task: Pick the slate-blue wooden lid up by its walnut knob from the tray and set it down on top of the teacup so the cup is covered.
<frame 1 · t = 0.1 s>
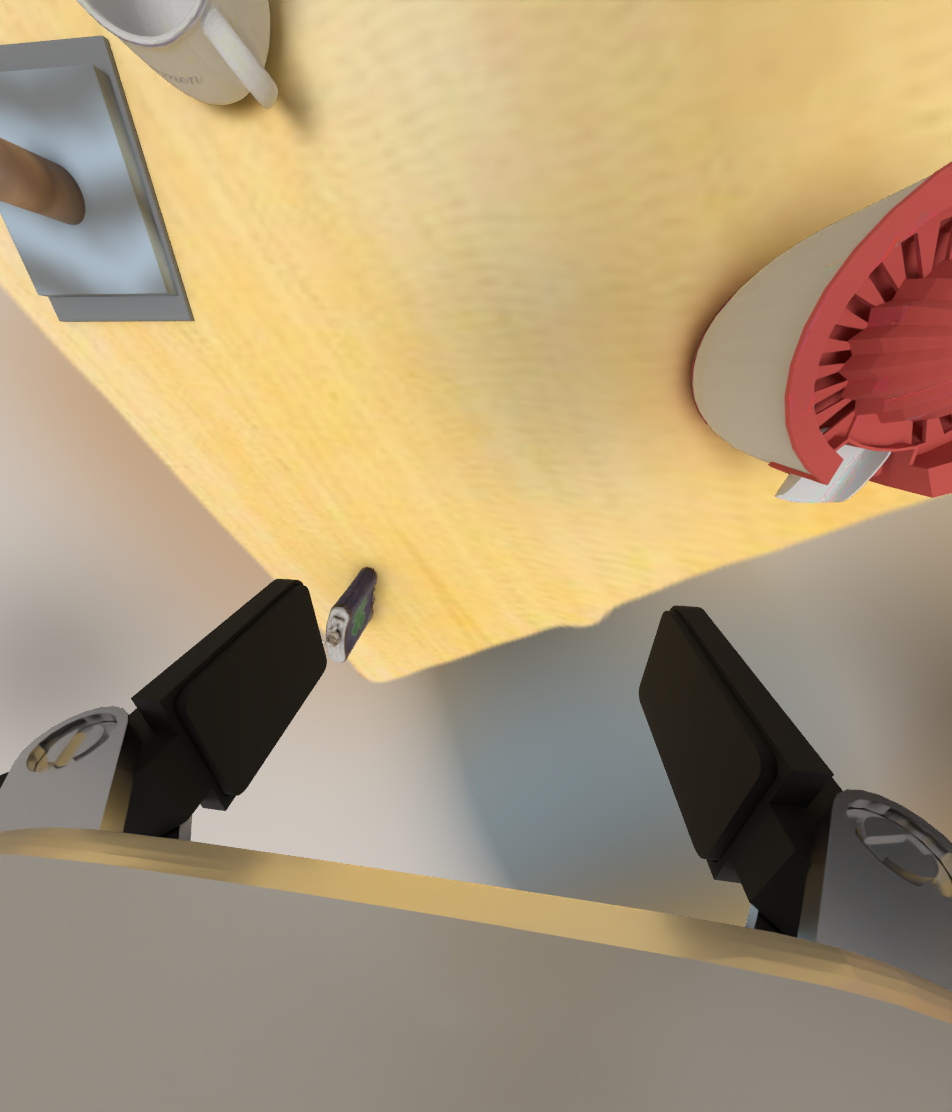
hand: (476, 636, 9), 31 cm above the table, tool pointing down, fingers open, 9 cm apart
citrus juicer: (753, 370, 32), on the table
lid: (77, 200, 31), resting on tray
flask: (366, 593, 49), on the table
tray: (82, 202, 31), on the table
teacup: (240, 52, 26), on the table
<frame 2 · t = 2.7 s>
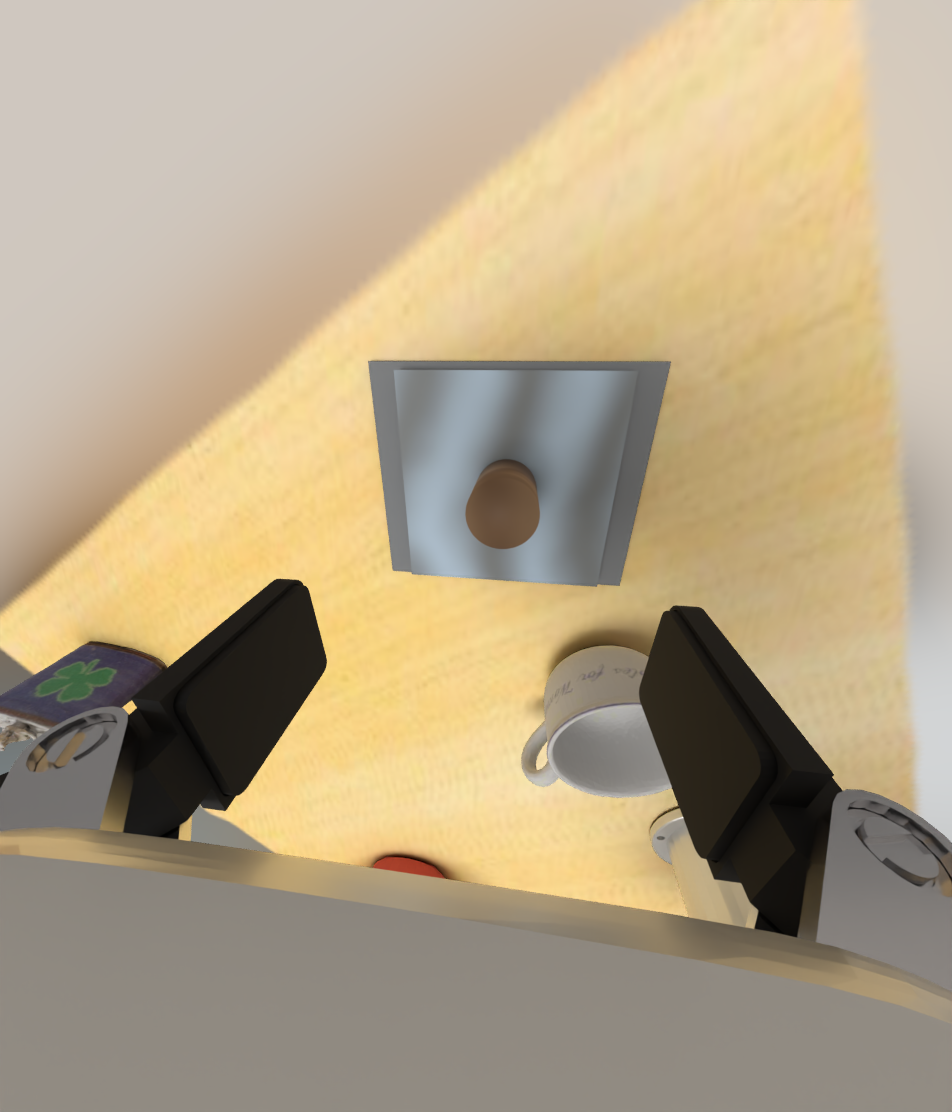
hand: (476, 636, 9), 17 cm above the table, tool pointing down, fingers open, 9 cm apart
citrus juicer: (405, 870, 54), on the table
lid: (506, 485, 24), resting on tray
flask: (129, 655, 38), on the table
tray: (507, 483, 24), on the table
teacup: (584, 677, 32), on the table
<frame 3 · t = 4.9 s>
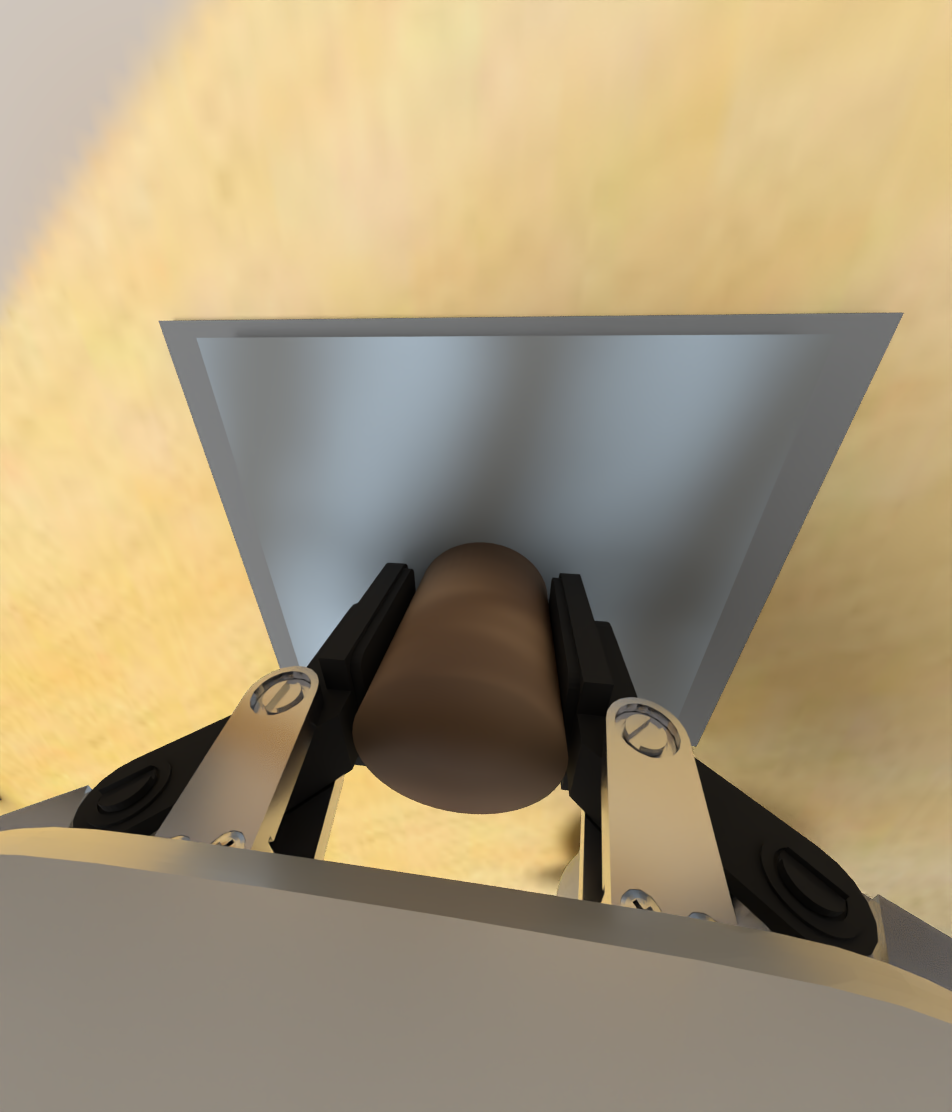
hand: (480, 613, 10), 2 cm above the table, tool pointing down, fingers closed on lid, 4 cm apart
lid: (486, 580, 12), resting on tray, touching gripper
tray: (487, 574, 12), on the table
teacup: (618, 847, 20), on the table
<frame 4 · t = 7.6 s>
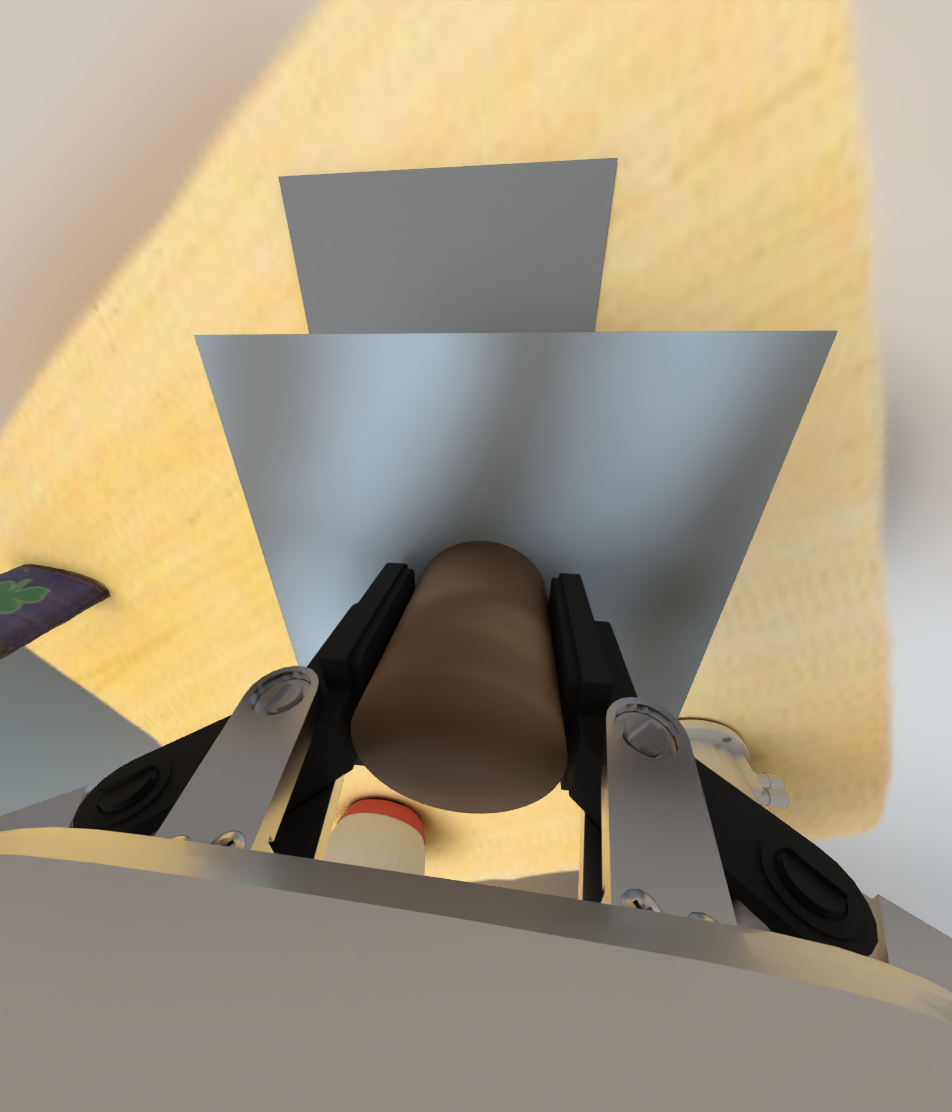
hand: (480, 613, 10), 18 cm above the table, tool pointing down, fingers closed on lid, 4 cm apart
citrus juicer: (381, 814, 53), on the table
lid: (485, 578, 12), point 16 cm above the table, touching gripper
flask: (68, 579, 36), on the table
tray: (447, 337, 22), on the table
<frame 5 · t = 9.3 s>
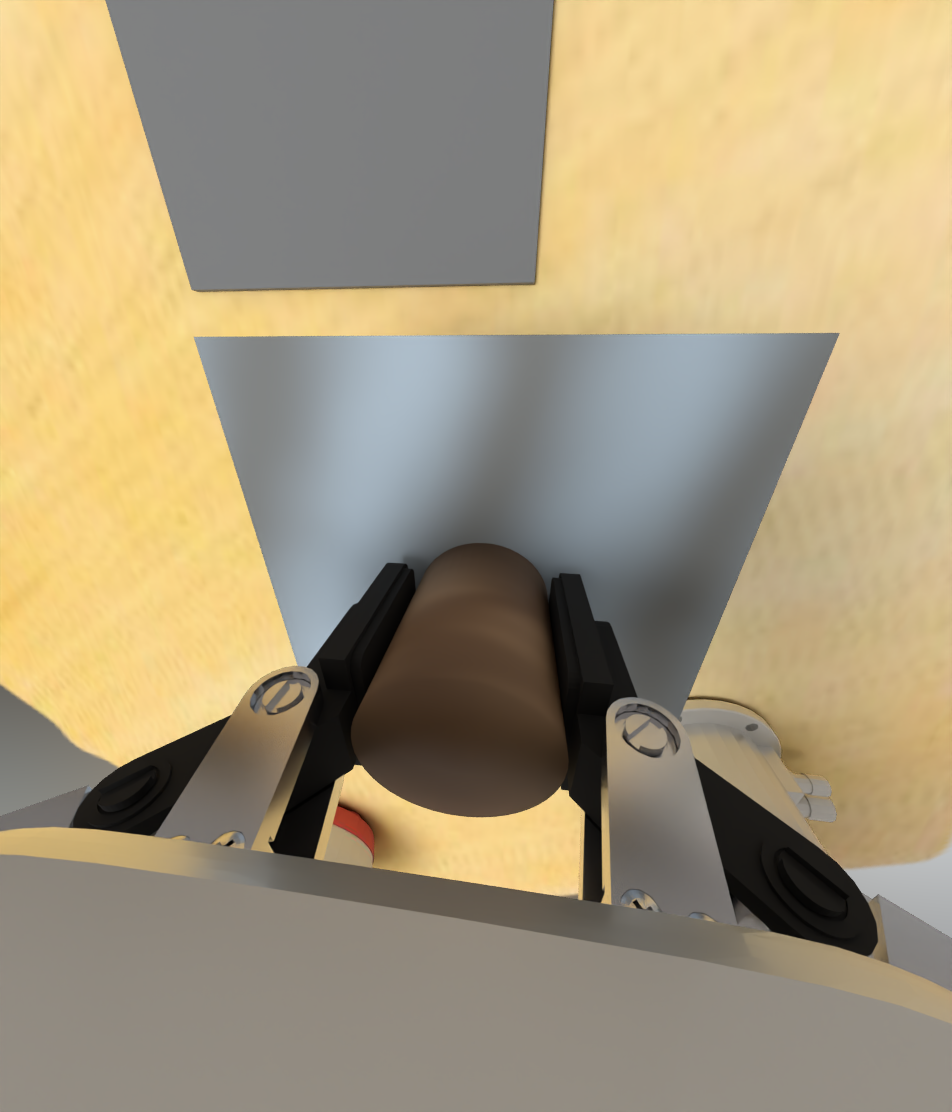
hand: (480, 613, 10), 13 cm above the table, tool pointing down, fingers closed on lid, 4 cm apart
citrus juicer: (325, 820, 44), on the table
lid: (485, 580, 12), point 11 cm above the table, touching gripper
tray: (330, 62, 14), on the table
when the fingers open (11 cm above the table, at t = 10.3 s): lid drops 2 cm, resting on teacup.
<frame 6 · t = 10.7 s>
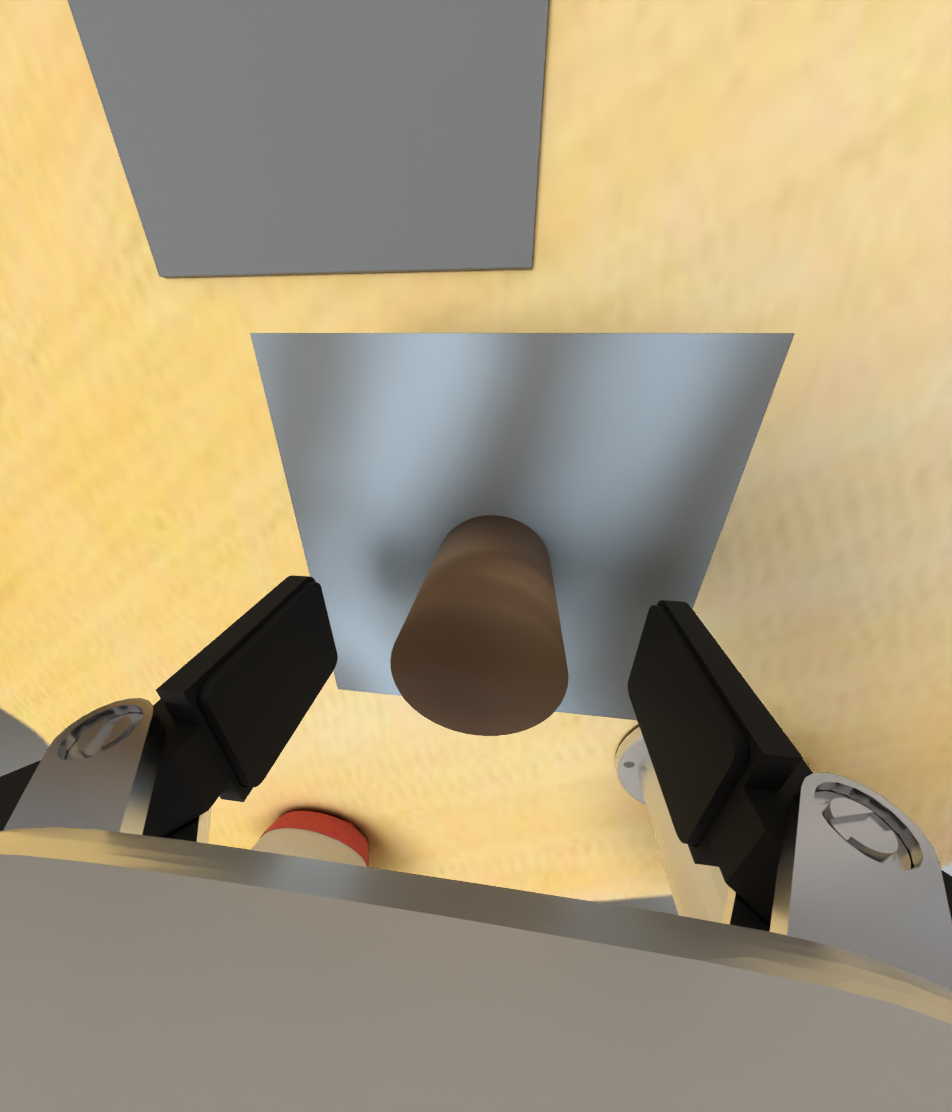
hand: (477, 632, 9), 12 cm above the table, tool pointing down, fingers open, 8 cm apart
citrus juicer: (318, 829, 43), on the table
lid: (494, 553, 13), point 8 cm above the table, touching teacup
tray: (303, 18, 13), on the table
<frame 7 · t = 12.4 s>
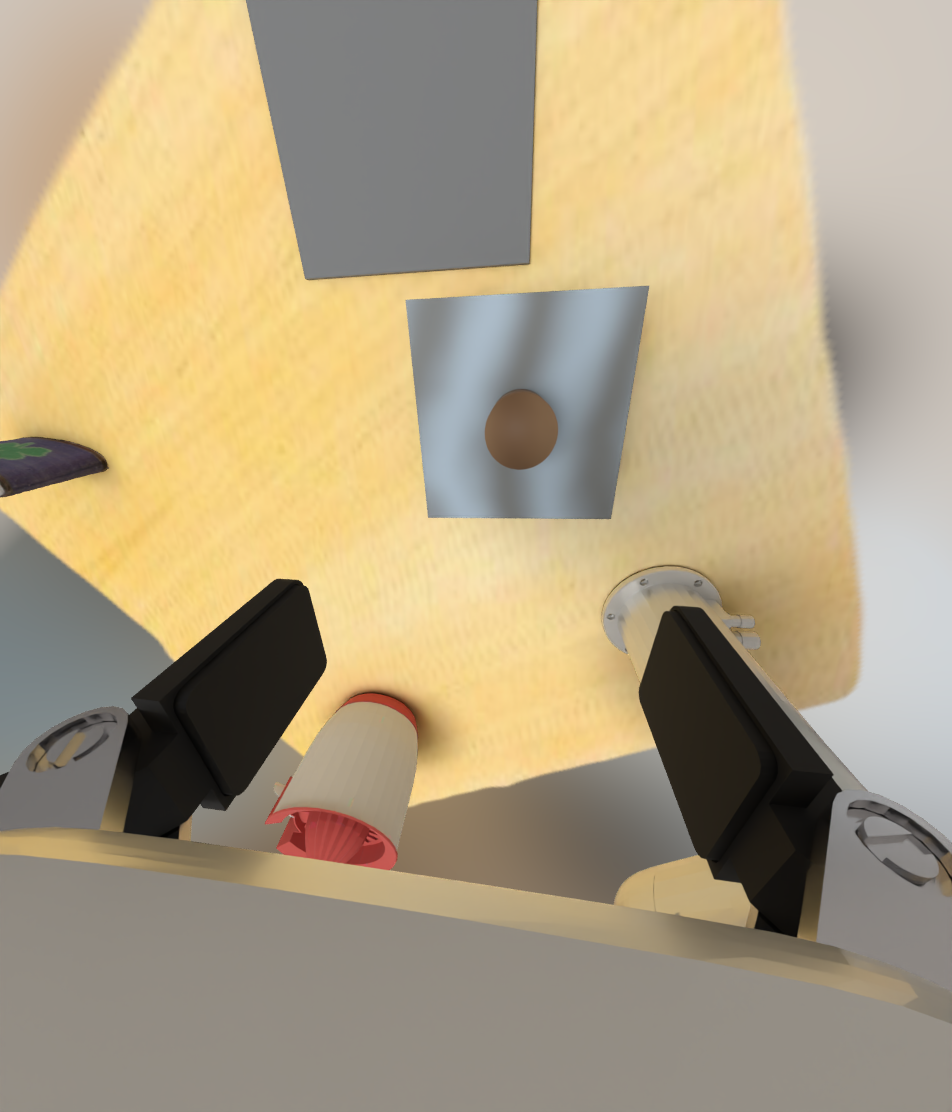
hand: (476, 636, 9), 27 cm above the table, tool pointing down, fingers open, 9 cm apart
citrus juicer: (375, 714, 54), on the table
lid: (519, 419, 24), point 8 cm above the table, touching teacup
flask: (69, 453, 38), on the table
tray: (401, 134, 24), on the table
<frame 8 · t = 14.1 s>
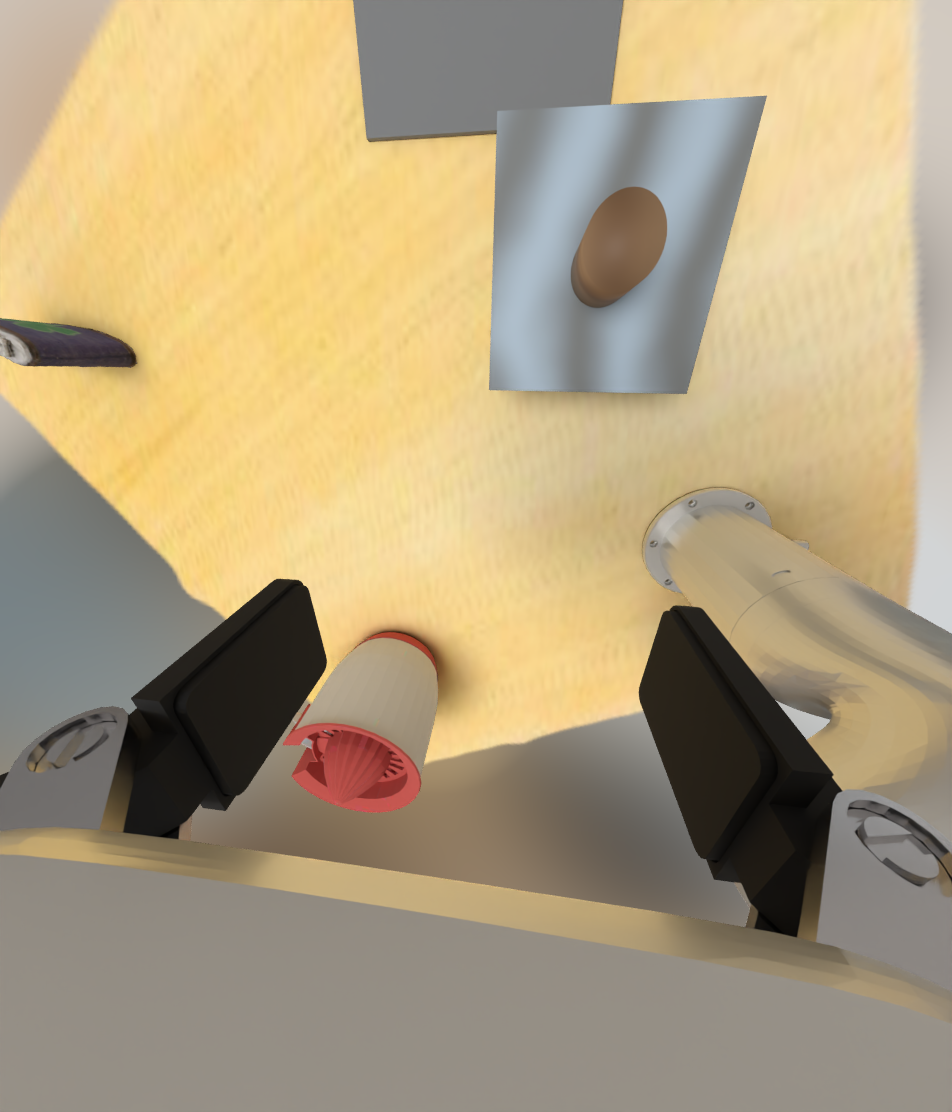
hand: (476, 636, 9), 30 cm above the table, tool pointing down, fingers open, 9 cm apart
citrus juicer: (393, 658, 52), on the table
lid: (599, 274, 23), point 8 cm above the table, touching teacup
flask: (96, 345, 36), on the table
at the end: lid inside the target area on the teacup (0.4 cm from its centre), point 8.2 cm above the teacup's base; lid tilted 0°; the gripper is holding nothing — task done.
